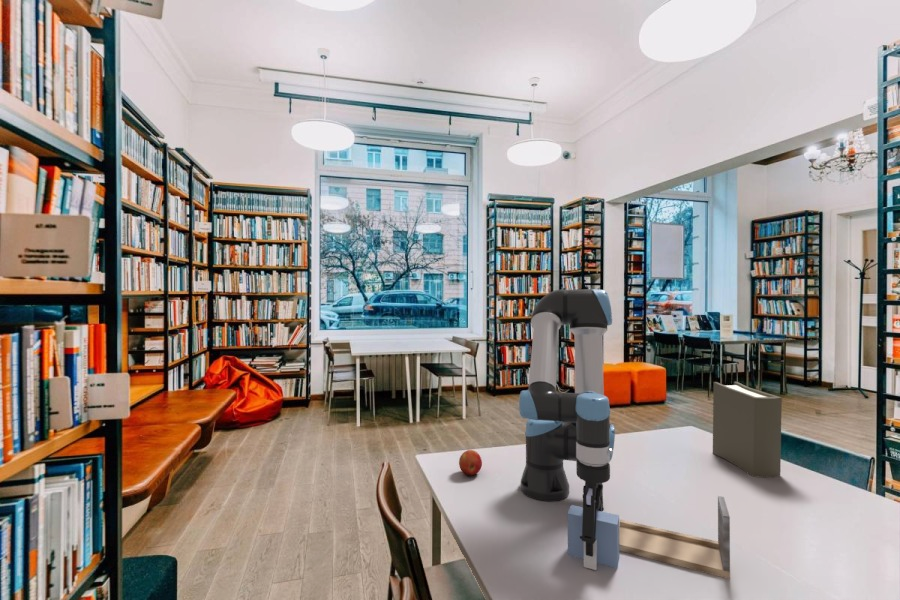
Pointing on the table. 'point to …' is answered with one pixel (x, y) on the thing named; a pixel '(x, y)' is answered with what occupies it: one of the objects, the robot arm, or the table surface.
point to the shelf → (681, 545)
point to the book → (747, 428)
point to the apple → (470, 462)
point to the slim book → (604, 535)
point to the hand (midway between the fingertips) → (593, 555)
